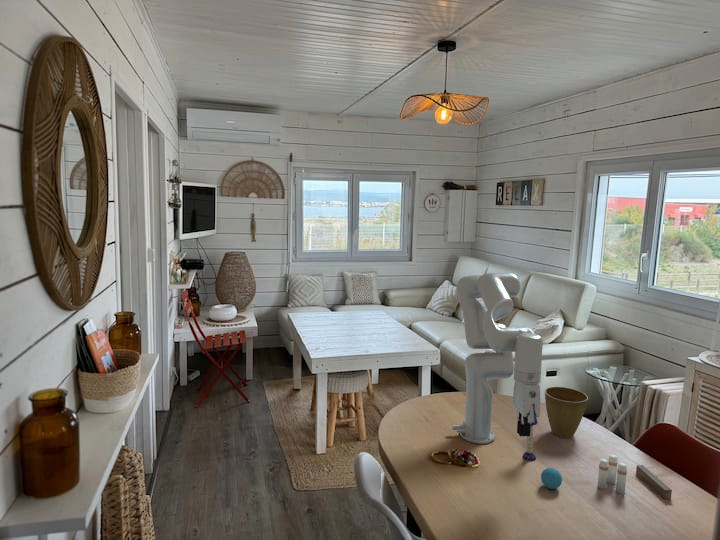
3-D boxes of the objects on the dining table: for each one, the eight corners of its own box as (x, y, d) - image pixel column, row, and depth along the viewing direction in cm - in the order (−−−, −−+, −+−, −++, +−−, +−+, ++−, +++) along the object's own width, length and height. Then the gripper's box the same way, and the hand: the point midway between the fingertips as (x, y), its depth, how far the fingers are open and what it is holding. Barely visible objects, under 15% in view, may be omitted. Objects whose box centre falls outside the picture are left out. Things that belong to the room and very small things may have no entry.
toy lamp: (528, 462, 166) (531, 414, 164) (517, 456, 170) (520, 409, 168) (538, 459, 169) (541, 412, 166) (528, 453, 173) (531, 407, 170)
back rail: (664, 499, 146) (665, 490, 146) (635, 474, 160) (636, 465, 160) (670, 499, 146) (671, 489, 146) (641, 473, 160) (642, 465, 160)
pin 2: (618, 493, 149) (620, 467, 148) (613, 489, 151) (616, 462, 150) (626, 493, 149) (629, 466, 148) (621, 488, 151) (624, 462, 150)
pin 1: (609, 484, 154) (611, 458, 153) (605, 480, 156) (607, 454, 155) (617, 484, 154) (619, 458, 153) (612, 479, 156) (615, 454, 155)
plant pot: (541, 439, 183) (544, 397, 181) (542, 423, 197) (545, 384, 195) (586, 446, 178) (589, 404, 176) (583, 429, 192) (586, 389, 190)
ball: (545, 493, 149) (546, 474, 148) (537, 482, 154) (538, 463, 154) (564, 492, 149) (566, 474, 148) (556, 481, 155) (557, 463, 154)
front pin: (600, 489, 151) (602, 462, 150) (595, 484, 154) (598, 458, 153) (608, 489, 151) (610, 462, 150) (603, 484, 154) (605, 458, 153)
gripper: (550, 384, 139) (546, 446, 142) (529, 367, 154) (526, 423, 157) (524, 384, 139) (520, 447, 141) (505, 367, 154) (502, 423, 156)
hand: (523, 434), depth 149 cm, fingers closed
